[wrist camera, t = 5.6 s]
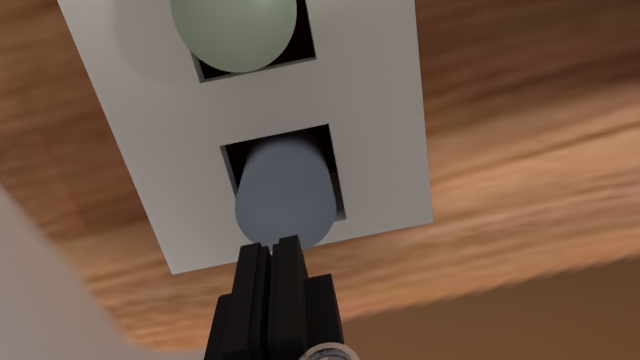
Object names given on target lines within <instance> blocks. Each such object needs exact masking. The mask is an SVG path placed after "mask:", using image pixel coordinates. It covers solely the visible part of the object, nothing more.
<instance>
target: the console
mask: <svg viewBox="0 0 640 360" xmlns="http://www.w3.org/2000/svg"><path fill="white" fill-rule="evenodd" d="M57 1H58V4H59V6H60V9H61V11H62V13H63V16H64V18H65V20H66V23H67V25H68V28H69V30H70V32H71V35H72V37H73V40H74V42H75V44H76V47H77V49H78V51H79V54H80V56H81V59H82V61H83V63H84V66H85V68H86V71H87V73H88V75H89V78H90V80H91V82H92V85H93V87H94V90H95V92H96V94H97V97H98V99H99V102H100V104H101V106H102V109H103V111H104V114H105V116H106V118H107V121H108V123H109V125H110V128H111V130H112V133H113V135H114V137H115V140H116V142H117V145H118V147H119V149H120V152H121V154H122V156H123V159H124V161H125V164H126V166H127V168H128V171H129V173H130V176H131V178H132V180H133V183H134V185H135V188H136V190H137V192H138V195H139V197H140V199H141V202H142V204H143V207H144V209H145V211H146V214H147V216H148V219H149V221H150V223H151V226H152V228H153V230H154V233H155V235H156V238H157V240H158V242H159V245H160V247H161V250H162V252H163V254H164V257H165V259H166V261H167V264H168V266H169V269H170V271H171V273H172V275H173V274H178V273H183V272H188V271H193V270H198V269H203V268H208V267H213V266H218V265H223V264H228V263H233V262H238V257H239V252H240V247H241V246H243V245H248V244H253V243H252V242H251V241H250V240H249V239H248V238H247V237H246V236H245V235H244V234H243V232H242V231H241V229H240V227H239V225H238V223H237V220H236V216H235V201H236V197H237V193H238V188H237V184H236V181H235V178H234V174H233V171H232V168H231V165H230V161H229V158H228V155H227V151H226V148H225V145H227V144H232V143H237V142H242V141H246V140H251V139H256V138H261V137H266V136H271V135H276V134H281V133H286V132H290V131H295V130H300V129H305V128H310V127H315V126H320V125H325V124H328V126H329V131H330V137H331V142H332V147H333V153H334V158H335V163H336V169H337V172H336V173H331V174H329V175H330V179H331V184H332V188H333V192H334V197H335V201H336V215H335V220H334V223H333V225H332V227H331V229H330V230H329V232H328V233H327V235H326V236H325V237H324V238H323V239H322V240H321V241H320V242H318V243H317V244H315V245H314V246H318V245H323V244H327V243H332V242H337V241H342V240H347V239H352V238H357V237H362V236H367V235H372V234H377V233H382V232H387V231H392V230H397V229H402V228H407V227H412V226H417V225H422V224H427V223H432V222H433V212H432V201H431V189H430V178H429V166H428V154H427V143H426V131H425V119H424V108H423V96H422V84H421V73H420V61H419V50H418V38H417V26H416V15H415V3H414V0H305V4H306V9H307V14H308V20H309V25H310V30H311V35H312V41H313V46H314V51H315V57H310V58H305V59H301V60H296V61H291V62H286V63H281V64H276V65H272V66H267V67H262V68H260V69H257V70H254V71H250V72H243V73H233V74H228V75H223V76H218V77H214V78H209V79H204V76H203V72H202V69H201V66H200V63H199V59H198V57H197V56H196V55H194V54H193V53H192V52H191V51H190V49H189V48H188V47H187V46H186V45H185V43H184V42H183V40H182V39H181V37H180V35H179V33H178V31H177V29H176V27H175V24H174V21H173V17H172V13H171V6H170V0H57ZM312 247H313V246H312ZM270 253H271V255H272V252H271V251H270Z"/></svg>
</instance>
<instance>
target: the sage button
mask: <svg viewBox="0 0 640 360" xmlns="http://www.w3.org/2000/svg"><path fill="white" fill-rule="evenodd" d="M170 6H171V13H172V17H173V21H174V24H175V27H176V29H177V31H178V33H179V35H180V37H181V39H182V40H183V42H184V43H185V45H186V46H187V47H188V48H189V49H190V51H191V52H192V53H193V54H194V55H196V56H197V57H198V58H199V59H201V60H202V61H203V62H205V63H206V64H208V65H210V66H212V67H214V68H217V69H219V70H223V71H227V72H235V73H243V72H250V71H254V70H257V69H260V68H262V67H264V66H266V65H268V64H269V63H271V62H272V61H274V60H275V59H276V58H277V57H278V56H279V55H280V54H281V53H282V52H283V51H284V49H285V48H286V46H287V45H288V43H289V41H290V39H291V37H292V34H293V31H294V28H295V23H296V16H297V5H296V0H170Z"/></svg>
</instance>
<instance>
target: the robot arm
mask: <svg viewBox="0 0 640 360" xmlns="http://www.w3.org/2000/svg"><path fill="white" fill-rule="evenodd" d="M204 360H359V358H358V357H357V355H356V353H355V352H354V351H353V350H352V349H351V348H349V347H348V346H346V345H345V344H344V338H343V332H342V326H341V320H340V315H339V310H338V304H337V299H336V295H335V290H334V285H333V281H332V276H331V274H326V275H321V276H316V277H311V278H309V277H308V273H307V269H306V265H305V261H304V257H303V253H302V249H301V245H300V241H299V237H298V235H293V236H288V237H283V238H279V243H278V244H273V248H272V257H271V253H270V250H269V247H268V246H263V247H262V245H261V243H260V242H258V243H253V244H248V245H243V246H241V247H240V252H239V257H238V262H237V268H236V273H235V278H234V283H233V288H232V293H231V294H226V295H221V296H220V297H219V298H218V301H217V305H216V310H215V314H214V318H213V323H212V327H211V331H210V335H209V340H208V344H207V348H206V352H205V357H204Z"/></svg>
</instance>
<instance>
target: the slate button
mask: <svg viewBox="0 0 640 360" xmlns="http://www.w3.org/2000/svg"><path fill="white" fill-rule="evenodd" d="M335 215H336V201H335V197H334V192H333V188H332V184H331V179H330V175H329V171H328V167H327V162H326V158H325V154H324V151H323V149H322V147H321V145H320V143H319V142H318V141H317V140H316V139H315V138H314V137H313V136H312V135H311V134H309V133H308V132H306V131H304V130H302V129H300V130H295V131H290V132H286V133H281V134H276V135H271V136H266V137H261V138H257V139H256V140H255V141H254V143H253V144H252V146H251V148H250V150H249V152H248V156H247V160H246V163H245V167H244V171H243V174H242V178H241V182H240V186H239V189H238V193H237V197H236V201H235V216H236V220H237V223H238V225H239V227H240V229H241V231H242V232H243V234H244V235H245V236H246V237H247V238H248V239H249V240H250V241H251V242H252V243H258V242H260V243H261V245H262V247H263V246H268V247H269V250H270V251H271V252H272V248H273V244H278V243H279V238H283V237H288V236H293V235H298V237H299V241H300V245H301V249H302V251H303V250H306V249H308V248H310V247H312V246H314V245H315V244H317V243H318V242H320V241H321V240H322V239H323V238H324V237H325V236H326V235H327V233H328V232H329V230H330V229H331V227H332V225H333V223H334V220H335Z"/></svg>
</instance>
